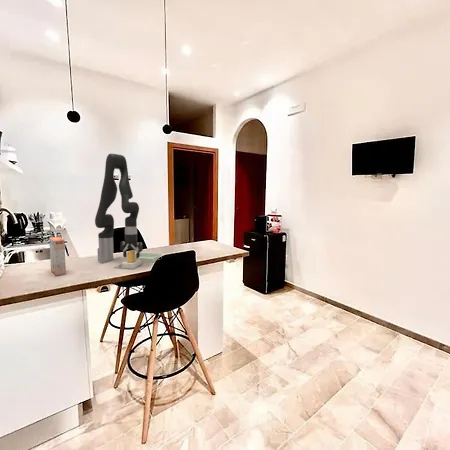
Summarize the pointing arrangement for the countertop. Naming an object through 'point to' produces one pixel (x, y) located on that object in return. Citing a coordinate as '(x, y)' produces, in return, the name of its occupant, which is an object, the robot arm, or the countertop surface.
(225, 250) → the countertop surface
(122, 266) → the block
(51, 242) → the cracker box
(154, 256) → the parts tray
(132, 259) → the fuse
